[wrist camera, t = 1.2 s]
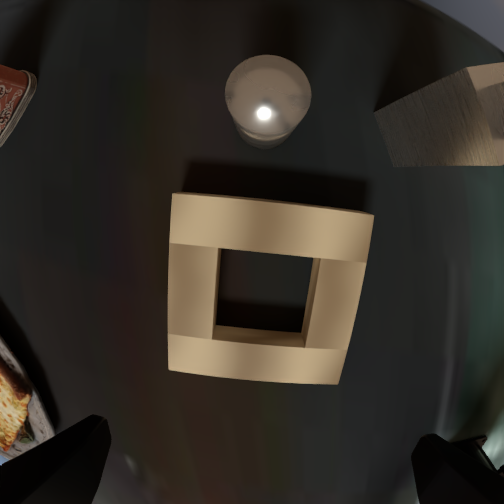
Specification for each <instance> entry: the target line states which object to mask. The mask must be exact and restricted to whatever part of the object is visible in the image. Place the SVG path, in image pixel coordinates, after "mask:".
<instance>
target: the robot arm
mask: <svg viewBox="0 0 504 504" xmlns="http://www.w3.org/2000/svg"><path fill="white" fill-rule="evenodd" d="M486 440H487V436H486V435H483V436H480V437H476V438H473V439H469V440H465V441H461V442H457V443H453V444H450V443H449V442H447V441H446V440H444V439H443V438H441V437H440V436H438V435H437V434H427V435H423V436H422V437H421V438H420V440H419V442H418V443H417V445H416V447H415V449H414V450H413V452H412V456H411V461H412V466H413V471H414V477H415V482H416V488H417V494H418V499H419V503H420V504H504V464H503V465H502V466H501V467H500V469H498V470H496V468H495V467H494V465H493V464H492V462H491V461H490V459H489V458H488V456H487V455H486V453H485V452H484V450H483V449H482V446H483V445H484V443H485V442H486ZM110 445H111V434H110V430H109V426H108V422H107V419H106V418H104V417H102V416H98V415H94V414H93V415H90V416H88V417H87V418H85V419H83V420H81V421H80V422H78V423H76V424H75V425H73V426H71V427H69V428H68V429H66V430H64V431H62V432H61V433H59V434H57V435H55V436H53V437H52V438H50V439H48V440H46V441H44V442H43V443H41V444H39V445H37V446H35V447H33V448H32V449H30V450H28V451H26V452H24V453H22V454H20V455H19V456H17V457H15V458H13V459H11V460H9V461H7V462H5V463H3V464H2V466H1V465H0V504H92V501H93V499H94V496H95V494H96V492H97V489H98V487H99V484H100V480H101V477H102V473H103V470H104V466H105V462H106V459H107V456H108V452H109V449H110Z"/></svg>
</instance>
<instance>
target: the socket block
mask: <svg viewBox="0 0 504 504" xmlns="http://www.w3.org/2000/svg"><path fill="white" fill-rule="evenodd" d="M373 219H374V215H371V214H369V213H366V212H363V211H356V210H349V209H342V208H334V207H327V206H319V205H311V204H302V203H294V202H285V201H276V200H267V199H257V198H247V197H237V196H226V195H215V194H203V193H190V192H178V193H173V194H172V207H171V224H170V244H169V273H168V362H169V370H173V371H180V372H187V373H194V374H201V375H208V376H217V377H225V378H235V379H245V380H256V381H269V382H285V383H305V384H338V382H339V378H340V375H341V371H342V368H343V364H344V360H345V357H346V353H347V349H348V345H349V341H350V337H351V333H352V329H353V325H354V320H355V316H356V312H357V307H358V302H359V298H360V293H361V288H362V283H363V278H364V273H365V268H366V262H367V257H368V251H369V245H370V239H371V233H372V226H373ZM221 248H225V249H235V250H245V251H255V252H265V253H275V254H285V255H295V256H304V257H314V258H313V265H312V271H311V278H310V284H309V290H308V296H307V302H306V308H305V314H304V320H303V326H302V331H301V333H295V332H282V331H270V330H259V329H248V328H238V327H229V326H220V325H216V315H217V300H218V286H219V272H220V259H221Z"/></svg>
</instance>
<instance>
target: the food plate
mask: <svg viewBox="0 0 504 504" xmlns="http://www.w3.org/2000/svg"><path fill="white" fill-rule="evenodd" d="M42 401H43V400H42V398H41V396H40V394H39V392H38V390H37V388H36V387H35V386H34V384H33V382H32V381H30V379H29V376H28V374H27V371H26V370H25V368H24V365H22V363H21V362H20V361H19V359H18V358H17V357H16V356H15V355H14V353H13V352H12V351H11V349H10V348H9V346H8V345H7V343H6V342H5V341H4V339H3V338H2V337H1V335H0V455H2V456H4V457H5V458H7V459H10V460H11V459H13V458H15V457H17V456H19V455H20V454H22V453H24V452H26V451H28V450H30V449H32V448H33V447H35V446H37V445H39V444H41V443H43V442H44V441H46V440H48V439H50V438H52V437H53V436H55V435H56V432H55V429H54V426H53V424H52V421H51V420H50V417H49V416H48V413H47V410H46V408H45V405H44V403H43V402H42Z"/></svg>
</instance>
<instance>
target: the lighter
mask: <svg viewBox="0 0 504 504" xmlns="http://www.w3.org/2000/svg"><path fill="white" fill-rule="evenodd" d="M36 86H37V81H36V77H35V75H34V74H32V73H30V72H28V71H24V70H21V71H18V70H15V69H12V68H9V67H6V66H3V65H0V147H1V146H2V145H3V143H4V142H5V140H6V139H7V138H8V136H9V135H10V133H11V132H12V130H13V129H14V127H15V126H16V124H17V122H18V121H19V119H20V117H21V116H22V114H23V112H24V111H25V109H26V107H27V105H28V103H29V102H30V100H31V98H32V96H33V94H34V92H35V90H36Z"/></svg>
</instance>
